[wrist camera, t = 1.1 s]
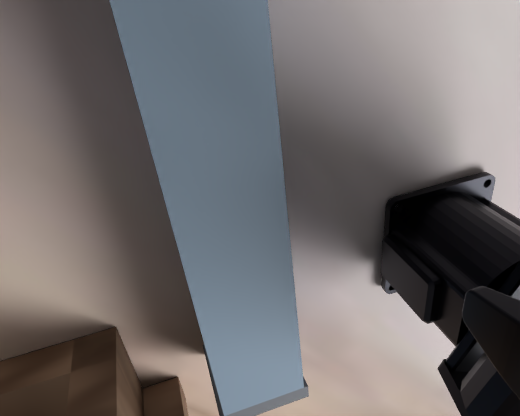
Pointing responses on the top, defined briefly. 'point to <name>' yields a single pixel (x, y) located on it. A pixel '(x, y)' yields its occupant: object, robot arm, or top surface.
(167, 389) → the headboard posts
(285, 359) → the bed rail
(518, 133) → the top surface
